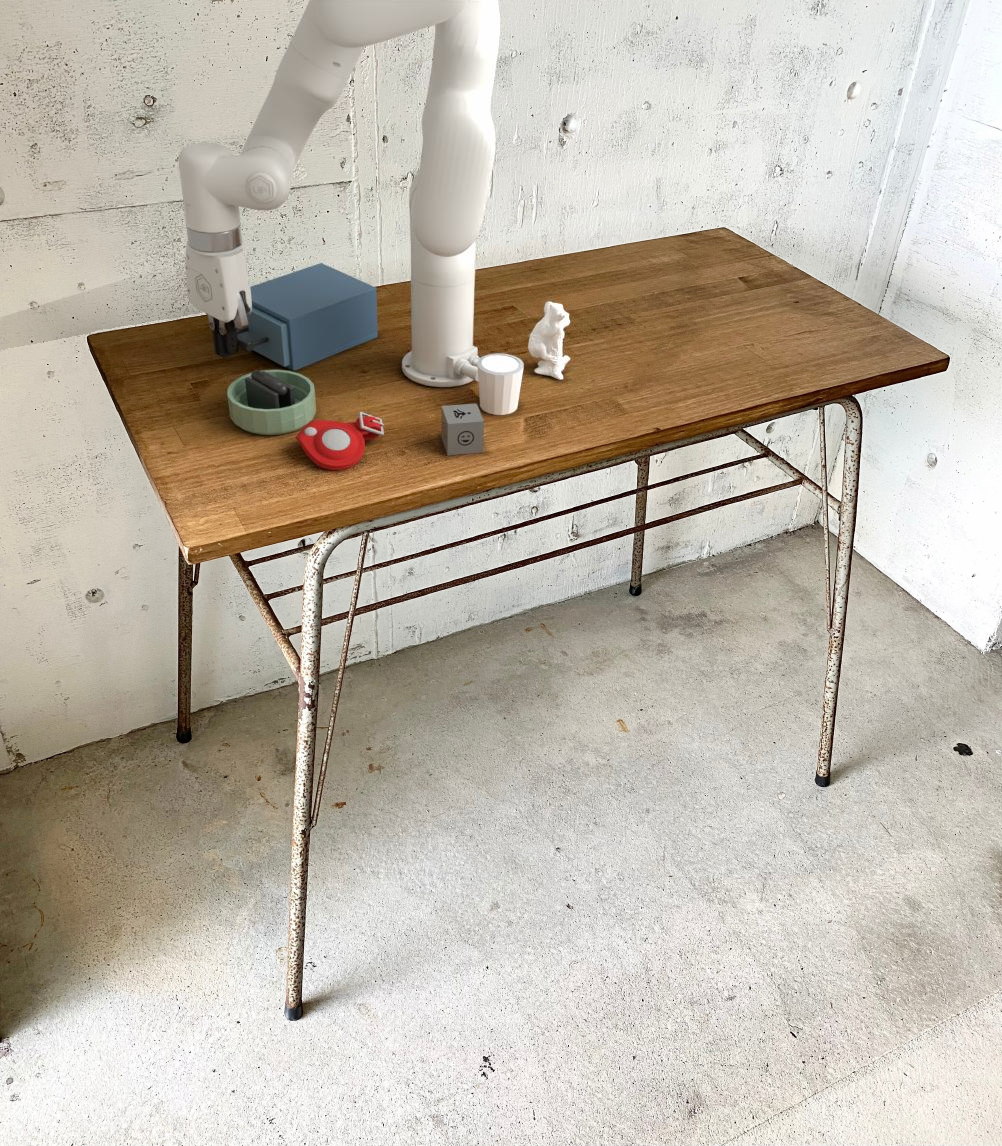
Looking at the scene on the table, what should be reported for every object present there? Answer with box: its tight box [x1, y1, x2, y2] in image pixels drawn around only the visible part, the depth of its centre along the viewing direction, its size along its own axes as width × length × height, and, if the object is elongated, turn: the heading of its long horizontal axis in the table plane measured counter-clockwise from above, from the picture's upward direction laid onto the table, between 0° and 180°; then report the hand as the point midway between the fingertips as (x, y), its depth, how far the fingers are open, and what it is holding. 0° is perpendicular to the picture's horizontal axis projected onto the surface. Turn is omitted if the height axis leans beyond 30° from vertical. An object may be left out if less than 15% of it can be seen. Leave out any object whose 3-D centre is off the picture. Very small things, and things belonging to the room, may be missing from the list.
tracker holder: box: [295, 411, 385, 471], centre depth 152 cm, size 12×4×10 cm
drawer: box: [237, 306, 291, 368], centre depth 174 cm, size 21×12×7 cm, turn 138°
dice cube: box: [440, 403, 485, 456], centre depth 153 cm, size 5×5×5 cm
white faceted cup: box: [477, 352, 525, 416], centre depth 162 cm, size 7×7×7 cm
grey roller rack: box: [245, 369, 295, 409], centre depth 157 cm, size 7×3×6 cm, turn 48°
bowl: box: [226, 369, 317, 436], centre depth 158 cm, size 12×12×4 cm
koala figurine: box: [527, 301, 571, 381], centre depth 170 cm, size 8×7×12 cm
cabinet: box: [250, 262, 379, 372], centre depth 176 cm, size 18×14×9 cm
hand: (227, 353), depth 167 cm, fingers closed
